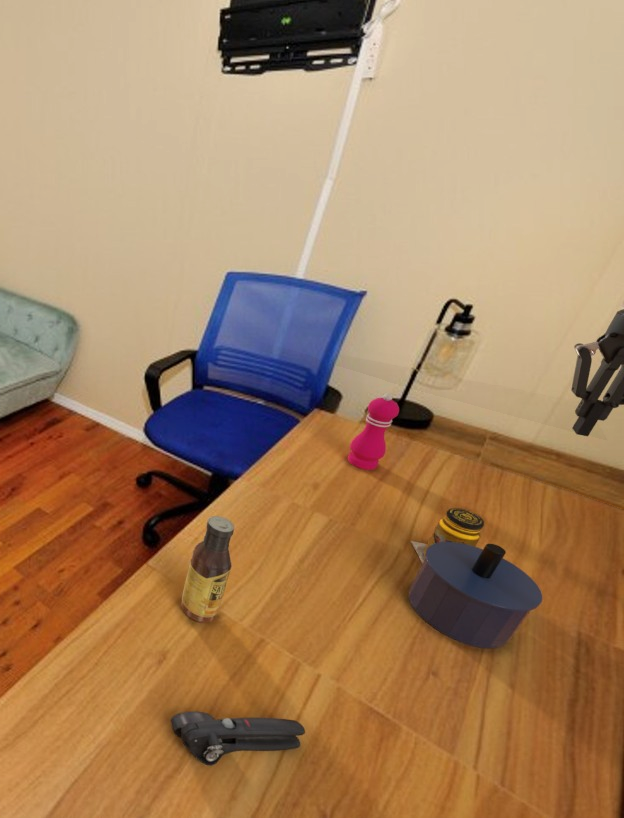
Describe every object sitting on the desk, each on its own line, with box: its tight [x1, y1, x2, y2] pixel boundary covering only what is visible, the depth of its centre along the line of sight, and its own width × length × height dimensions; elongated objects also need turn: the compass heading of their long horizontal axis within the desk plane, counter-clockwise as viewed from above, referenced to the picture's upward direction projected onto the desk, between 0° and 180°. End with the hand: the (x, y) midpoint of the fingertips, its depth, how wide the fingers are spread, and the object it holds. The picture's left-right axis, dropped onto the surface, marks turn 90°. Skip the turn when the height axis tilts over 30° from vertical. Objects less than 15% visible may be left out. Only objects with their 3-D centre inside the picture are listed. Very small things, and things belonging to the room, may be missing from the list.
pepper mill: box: [347, 393, 400, 471], centre depth 125 cm, size 7×7×20 cm
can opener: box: [170, 711, 306, 766], centre depth 70 cm, size 18×7×6 cm, turn 90°
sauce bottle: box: [180, 515, 235, 624], centre depth 86 cm, size 7×6×20 cm
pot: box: [407, 559, 532, 649], centre depth 87 cm, size 14×14×10 cm
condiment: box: [410, 507, 485, 565], centre depth 97 cm, size 7×8×12 cm
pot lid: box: [425, 542, 543, 612], centre depth 83 cm, size 15×15×7 cm
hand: (579, 432), depth 96 cm, fingers closed
